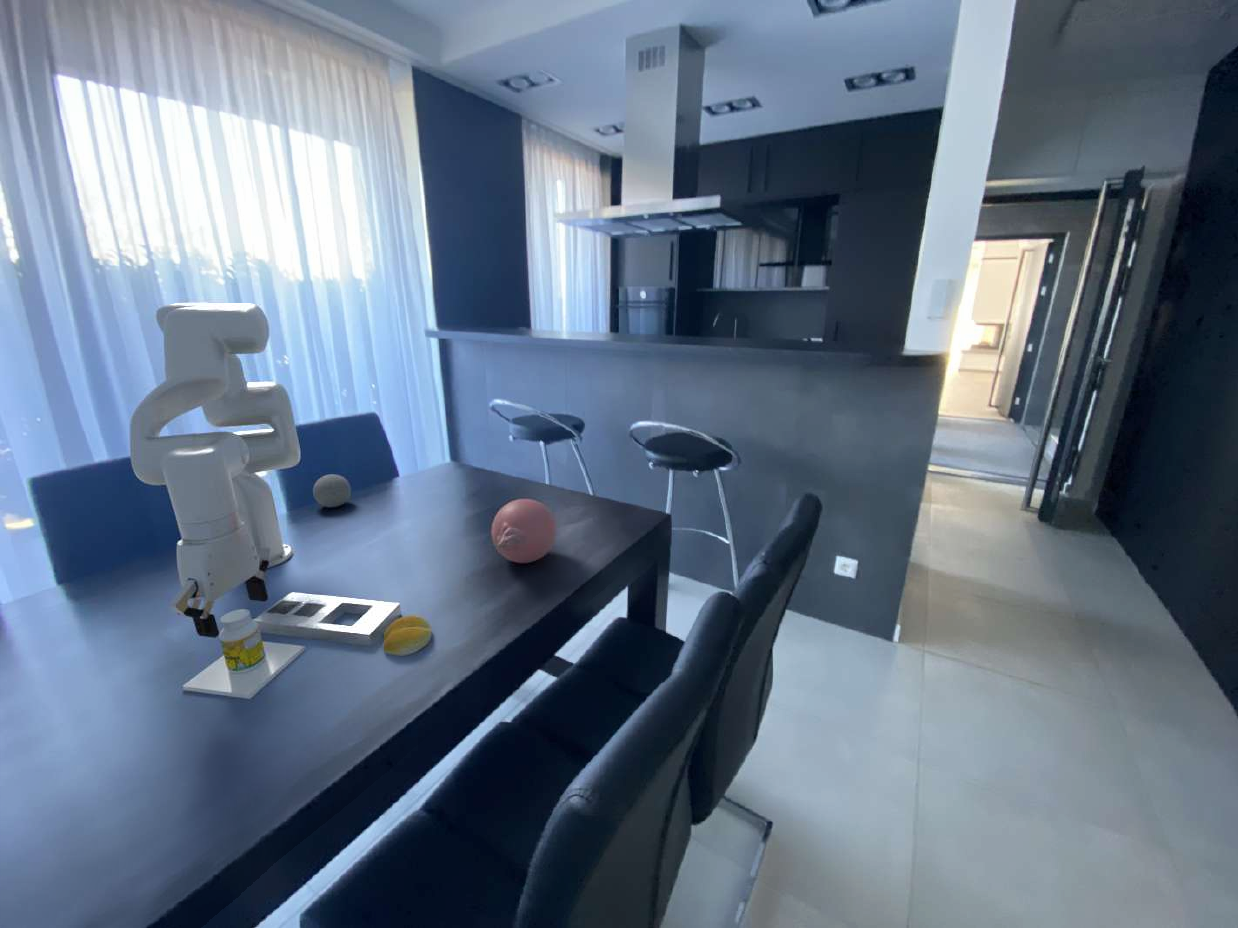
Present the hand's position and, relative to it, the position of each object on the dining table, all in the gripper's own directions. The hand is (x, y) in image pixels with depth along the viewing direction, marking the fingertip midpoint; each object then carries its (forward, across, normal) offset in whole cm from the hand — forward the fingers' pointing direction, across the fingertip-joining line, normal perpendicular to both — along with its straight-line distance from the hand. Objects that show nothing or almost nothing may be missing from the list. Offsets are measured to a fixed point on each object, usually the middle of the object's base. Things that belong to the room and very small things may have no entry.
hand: (235, 616), depth 84 cm
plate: (+10, +1, +1) cm, 10 cm away
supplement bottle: (+9, 0, 0) cm, 9 cm away
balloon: (+10, -42, +35) cm, 56 cm away
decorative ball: (+12, -66, -32) cm, 75 cm away
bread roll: (+10, -11, +23) cm, 28 cm away
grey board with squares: (+10, -13, +6) cm, 18 cm away
